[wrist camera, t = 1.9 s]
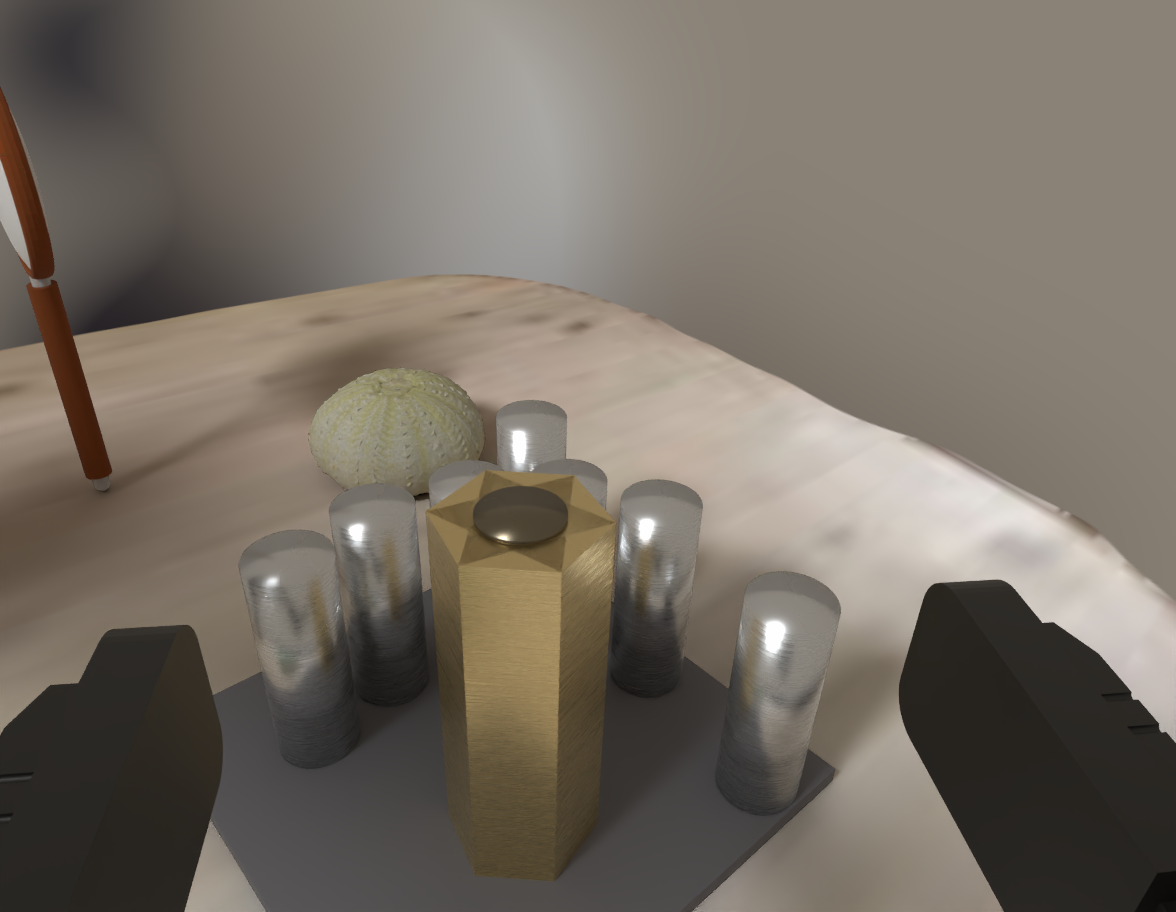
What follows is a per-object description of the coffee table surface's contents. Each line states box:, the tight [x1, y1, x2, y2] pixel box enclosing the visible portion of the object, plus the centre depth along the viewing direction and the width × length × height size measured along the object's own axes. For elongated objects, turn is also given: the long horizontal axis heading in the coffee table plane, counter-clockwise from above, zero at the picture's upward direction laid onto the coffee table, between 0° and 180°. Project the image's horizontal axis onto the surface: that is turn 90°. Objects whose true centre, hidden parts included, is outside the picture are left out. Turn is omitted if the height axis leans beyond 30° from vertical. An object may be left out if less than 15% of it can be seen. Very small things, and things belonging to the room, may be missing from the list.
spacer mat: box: [210, 588, 835, 912], centre depth 31 cm, size 17×17×1 cm
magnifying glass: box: [0, 88, 112, 491], centre depth 40 cm, size 9×2×20 cm, turn 37°
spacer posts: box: [239, 400, 841, 816], centre depth 30 cm, size 16×14×8 cm
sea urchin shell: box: [308, 367, 485, 496], centre depth 47 cm, size 9×8×8 cm
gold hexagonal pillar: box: [426, 470, 616, 881], centre depth 26 cm, size 5×4×12 cm
